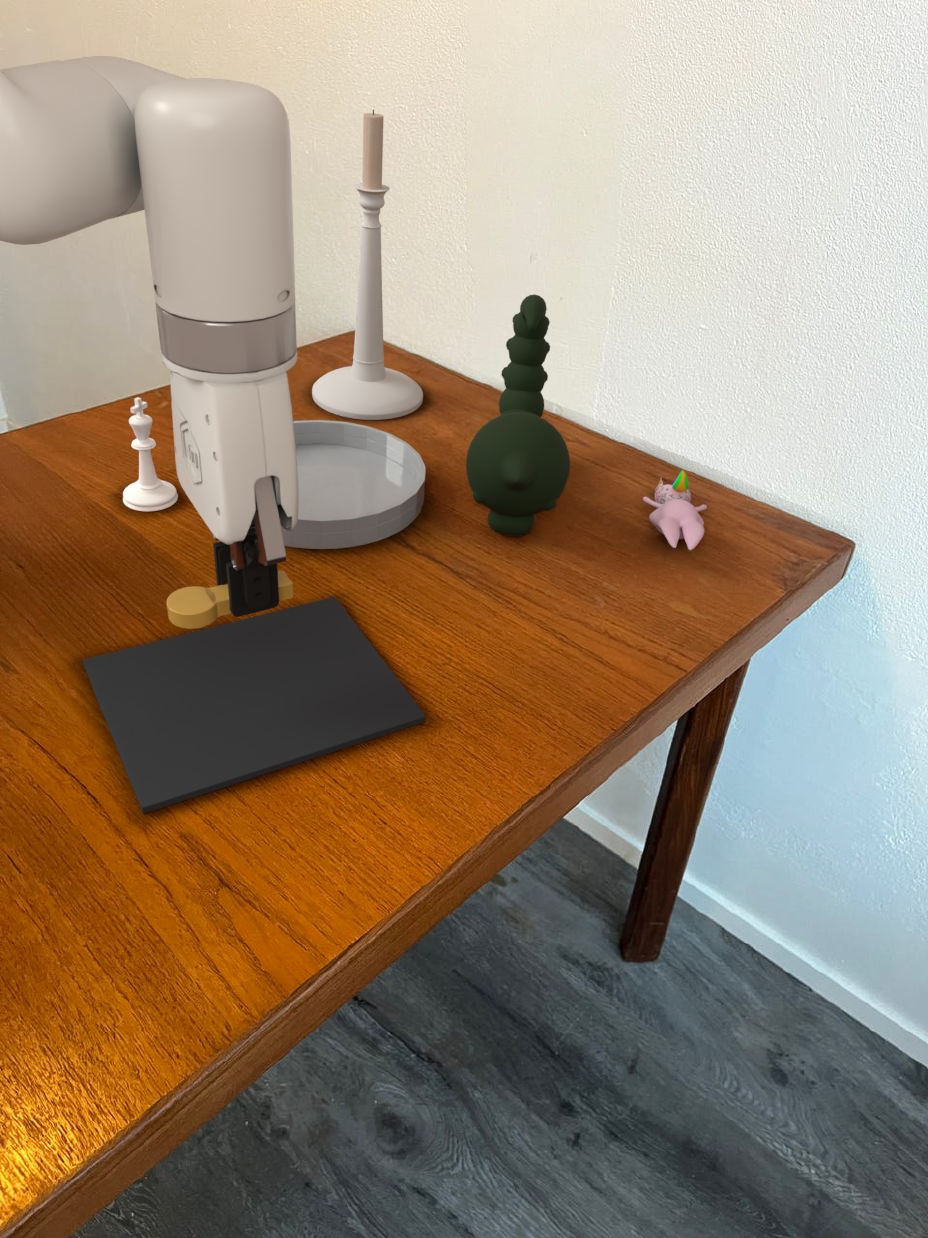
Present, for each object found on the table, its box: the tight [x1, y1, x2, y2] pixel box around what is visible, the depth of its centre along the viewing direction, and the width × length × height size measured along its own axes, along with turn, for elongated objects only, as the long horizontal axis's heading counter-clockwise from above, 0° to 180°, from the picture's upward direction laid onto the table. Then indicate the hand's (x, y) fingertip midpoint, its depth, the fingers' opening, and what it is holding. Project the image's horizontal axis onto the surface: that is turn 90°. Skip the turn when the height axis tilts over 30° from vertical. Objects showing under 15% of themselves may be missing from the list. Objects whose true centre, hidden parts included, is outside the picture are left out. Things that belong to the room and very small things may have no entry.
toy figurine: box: [465, 293, 571, 537], centre depth 91 cm, size 9×19×25 cm
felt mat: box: [82, 596, 427, 814], centre depth 70 cm, size 20×16×1 cm
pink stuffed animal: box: [642, 470, 708, 551], centre depth 92 cm, size 6×6×15 cm
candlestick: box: [311, 109, 424, 421], centre depth 104 cm, size 13×13×30 cm
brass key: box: [165, 569, 294, 630], centre depth 65 cm, size 8×3×1 cm, turn 120°
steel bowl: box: [281, 419, 427, 550], centre depth 93 cm, size 20×20×3 cm
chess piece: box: [122, 396, 179, 513], centre depth 88 cm, size 5×5×10 cm
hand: (248, 598), depth 65 cm, fingers closed on brass key, 1 cm apart
